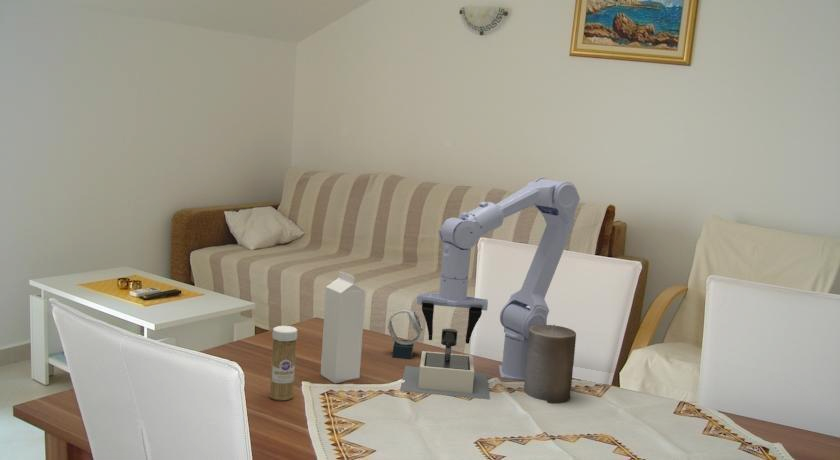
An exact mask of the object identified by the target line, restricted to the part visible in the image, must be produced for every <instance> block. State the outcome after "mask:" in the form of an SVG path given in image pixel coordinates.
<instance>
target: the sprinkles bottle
mask: <svg viewBox="0 0 840 460" xmlns="http://www.w3.org/2000/svg"><path fill="white" fill-rule="evenodd" d="M271 336H272V337H271V339H272V351H271V352H272V353H271V361H270V363H271V365H270V386H269V387H270V388H269V390H270V391H269V398H270V399H272V400H275V401H289V400H291V399H292V398H294V393H293V392H294V382H295V370H296V369H295V368H296V347H297V346H296V345H297V344H296V343H297V339H298V329H297V328H296V327H294V326H291V325H290V326H289V325H278V326H275V327H273V328H272V335H271Z"/></svg>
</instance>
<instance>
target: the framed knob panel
mask: <svg viewBox="0 0 840 460" xmlns="http://www.w3.org/2000/svg"><path fill="white" fill-rule="evenodd" d="M427 353H432V354H443V355H445V352H440V351H439V352H438V351H425V350H421V358H420V364H419V367H420V371H419V383H418V388H421V389H432V390H443V391H454V392H465V393H472V391H473V380H474V372H475V365H474V356H473V355H471V354H462V353H461V354H460V353H451V355H455V356H466V357H467V358H468V370H463V369H452V368H441V367H430V366H426V361H427Z"/></svg>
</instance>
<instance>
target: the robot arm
mask: <svg viewBox="0 0 840 460" xmlns="http://www.w3.org/2000/svg"><path fill="white" fill-rule="evenodd" d="M580 200H581V198H580V196H579V192H578V189H577V188H576V186H575V184H573V183H572V182H571V181H560V180H554V179H547V178H545V177H538V178H536V179H535V180H534V181H533V180H532V181H529V182H528V183H527V184H526V186H524V187H522V188H521V189H519V190H518V191H516V192H514V193H512V194H510V196H506V198H504V199H502V200H501V201H499V202H497V203H495V202H492V201H482V202H479V203H478V207H475V208H474V209H472V210H470V211H468V212H466V211H464V212H462V213H461V214H460V216H459V217H449V218H447V219H446V220H445V221H444V222H443V224H442V225H441V227H440V229H439V230H438V237H439V240H440V241H441V243H442V245H441V250H442V256H441V268H440V281H439V291H438V293H417V297H416V304H417V305H418V306H419V305H421V311H422V314H423V316H424V319H425V323H426V327H427V332H428V341H433V334H434V332H433V331H434V323H433V322H434V321H433V320H434V313H435V311H434V310H435V306H441V307H451V308H463V309H468V318H467V319H468V320H467V329H466V335H465V344H470V341H471V340H470V339H471V336H472V334H473V331H474V330H475V327H476V325H477V323H478V322H479V320H480V318H481V316H482V313H483V311H488V304H489V303H488V302H489V301H488V299H487V298H486V299H485V298H484V299H483V298H479V297H471V296H468V286H469V285H468V284H469V275H470V264H471V263H470V261H471V254H472V253H471V251H472V248H473V247H475V245H476V244H477V242H478V240H479V238H481V237H483V236H485V235H487V234H489V233H490V232H492V231H494V230H496V229H499V228H500V227H502V226H503V223H504V219H506V218H508V217H510V216H511V215H514V214H516V213H518V212H521V211H524V210H526V209H528V208H529V207H532V206H534V207H535V208H536V209H537V210H538V211H539V213H540V215H541V216H542V217H543V219H544V221H545V223H546V225H545V227H544V231H543V232H542V236H541V238H540V241H539V243H538V246H537V248H536V251H535V253H534V255H533V258H532V261H531V262H530V263H531V264H530V266H529V269H528V271H527V273H526V275H525V278H524V281H523V283H522V287H521V289H519V290H518V291H516V292H515V293H512V294H511V295H510V297H509V299H508V301H507V303H506V304H505V305H504V306H503V307H502V309H501V310H500V314H499V322H500V324H501V326H502V327H503V332H504V344H503V354H502V363H501V364H500V365H498V369H499V371H498V372H499V374H500V378H502V379H511V380H521V381H522V380H523V381H525V372H526V361H527V350H528V338H529V328H530V327H531V326H534V325H548V321H547V319H548V315H549V312H550V308H549V306H548V304H547V302H546V299H545V298H546V296H547V294H548V291H549V288H550V286H551V283H552V281H553V279H554V276H555V273H556V270H557V268H558V265H559V264H560V260H561V258H562V255H563V253H564V250H565V248H566V245H567V243H568V240H569V238H570V235H571V233H572V230H573V229H574V228H573V227H574V222H575V215H576V213H575V212H576V210H577V208H578V205H579V202H580Z"/></svg>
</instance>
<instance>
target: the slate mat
mask: <svg viewBox="0 0 840 460" xmlns="http://www.w3.org/2000/svg"><path fill="white" fill-rule="evenodd" d="M419 371H420V366H411V365H405V366H404V370H403V374H402V375H403V376H402V380H405V382H404V383H402V382H401V385H400V389H399V392H405V393H416V394H418V393H419V394H428V395H437V396H438V395H439V396H447V397H448V396H450V397H459V398H470V399H481V400H483V399H484V400H491V395H490V387H489V381H488V374H487V372H477V371H476V372H475V371H474V380H473V391H472V393H465V392H454V391H443V390H432V389H421V388H418V383H419ZM402 380H401V381H402Z"/></svg>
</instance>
